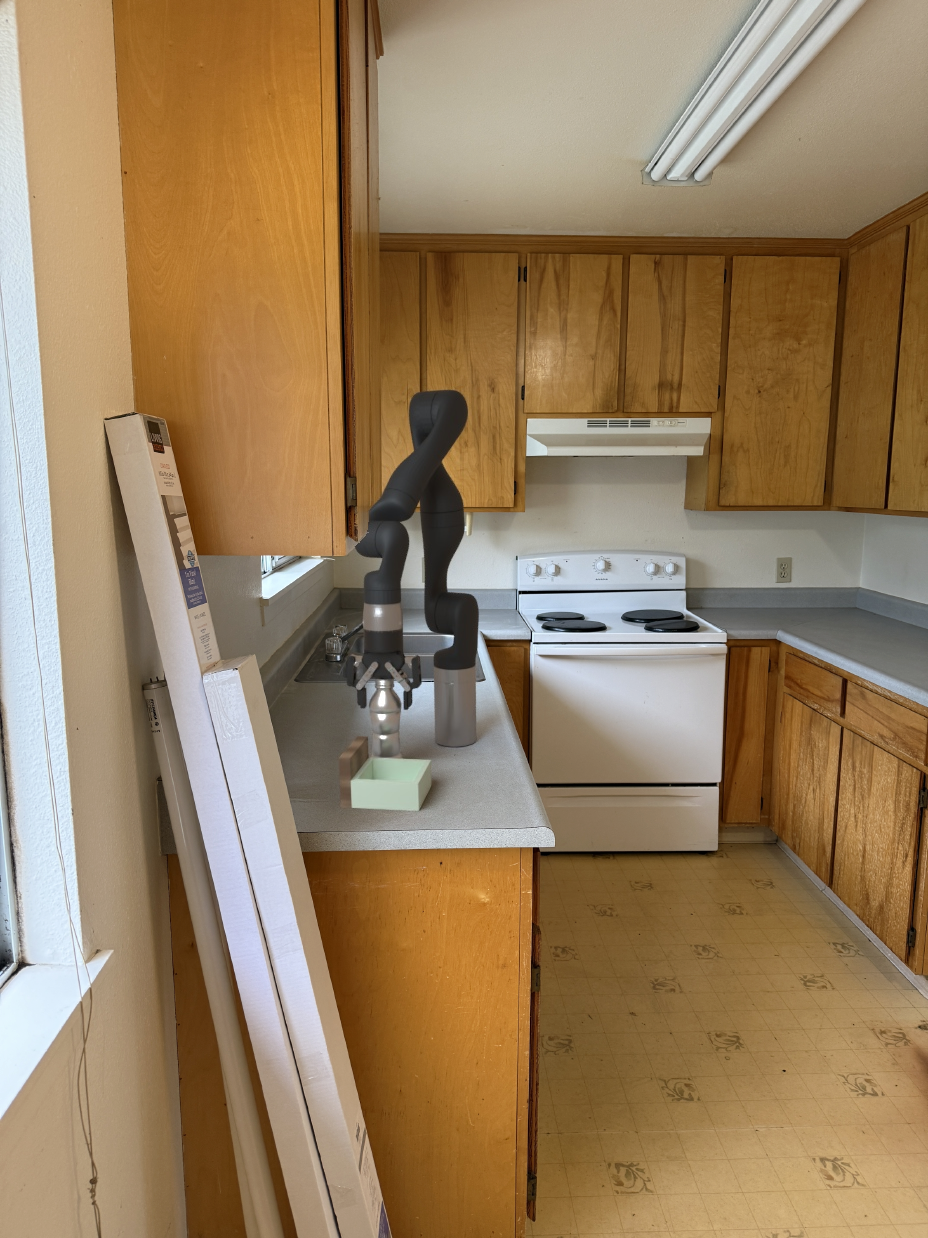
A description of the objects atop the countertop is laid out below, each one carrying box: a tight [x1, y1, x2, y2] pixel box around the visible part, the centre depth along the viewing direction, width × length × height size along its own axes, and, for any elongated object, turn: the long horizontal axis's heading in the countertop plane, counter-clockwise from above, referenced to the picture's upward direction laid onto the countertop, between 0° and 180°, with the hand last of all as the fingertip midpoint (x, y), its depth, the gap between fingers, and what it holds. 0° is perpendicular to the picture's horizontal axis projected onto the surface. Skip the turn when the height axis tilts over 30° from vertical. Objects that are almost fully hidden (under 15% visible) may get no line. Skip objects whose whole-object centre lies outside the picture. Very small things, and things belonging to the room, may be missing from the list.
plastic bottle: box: [368, 678, 404, 759], centre depth 159 cm, size 6×7×20 cm
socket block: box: [351, 757, 432, 812], centre depth 148 cm, size 12×12×5 cm
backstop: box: [338, 735, 370, 809], centre depth 147 cm, size 12×24×10 cm, turn 82°
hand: (384, 708), depth 158 cm, fingers open, 8 cm apart
